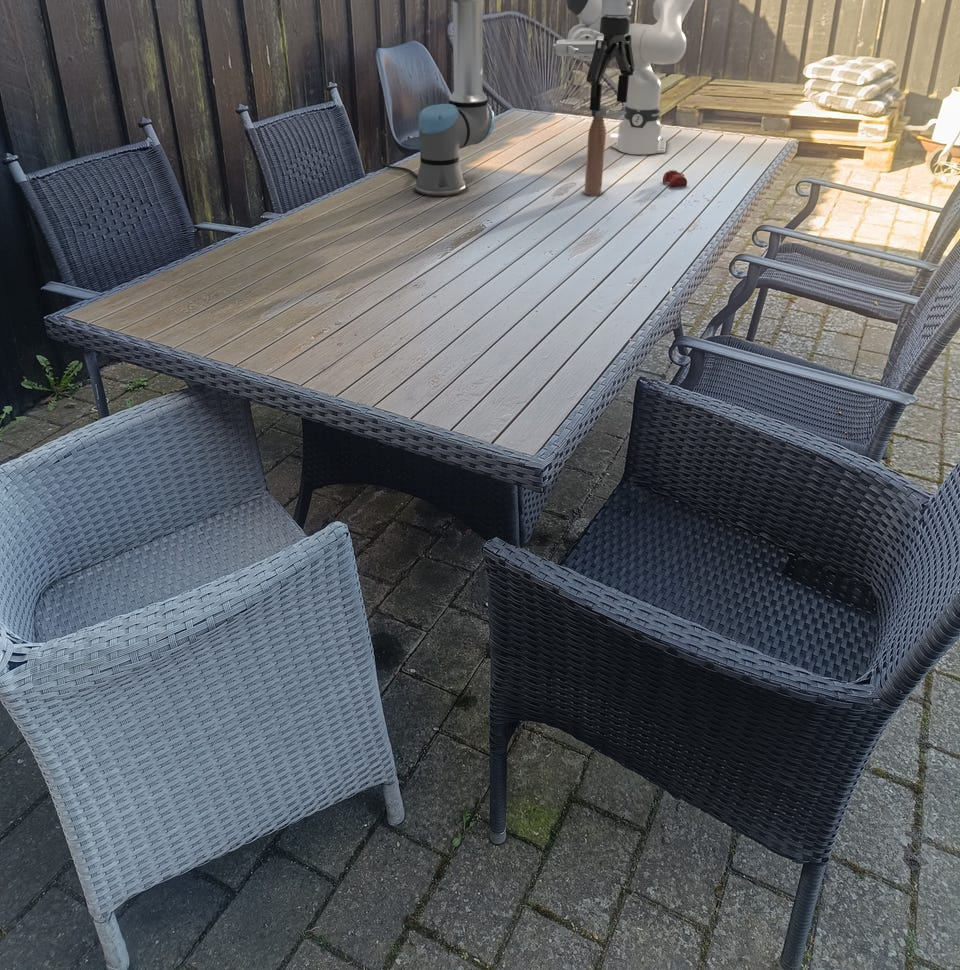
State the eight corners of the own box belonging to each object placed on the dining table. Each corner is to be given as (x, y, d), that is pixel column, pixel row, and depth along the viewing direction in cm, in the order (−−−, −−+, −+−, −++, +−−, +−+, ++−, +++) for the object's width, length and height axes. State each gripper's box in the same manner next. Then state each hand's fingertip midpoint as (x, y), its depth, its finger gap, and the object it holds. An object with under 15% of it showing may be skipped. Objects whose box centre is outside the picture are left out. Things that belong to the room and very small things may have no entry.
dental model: (678, 166, 263) (689, 173, 257) (677, 180, 266) (688, 187, 260) (661, 168, 262) (672, 175, 256) (660, 182, 265) (671, 189, 259)
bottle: (588, 196, 253) (595, 110, 239) (581, 191, 257) (587, 106, 243) (604, 194, 254) (611, 109, 240) (596, 190, 258) (603, 105, 244)
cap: (595, 117, 241) (596, 108, 239) (589, 114, 244) (589, 105, 242) (608, 116, 242) (608, 107, 240) (601, 113, 245) (602, 104, 244)
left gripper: (602, 22, 204) (595, 116, 216) (653, 12, 219) (644, 100, 232) (576, 19, 207) (570, 112, 220) (628, 10, 223) (620, 96, 236)
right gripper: (552, 33, 262) (557, 40, 251) (617, 33, 263) (625, 40, 252) (551, 55, 266) (556, 63, 255) (615, 55, 267) (623, 63, 255)
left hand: (608, 106), depth 226 cm, fingers open, 13 cm apart
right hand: (591, 51), depth 253 cm, fingers open, 8 cm apart
